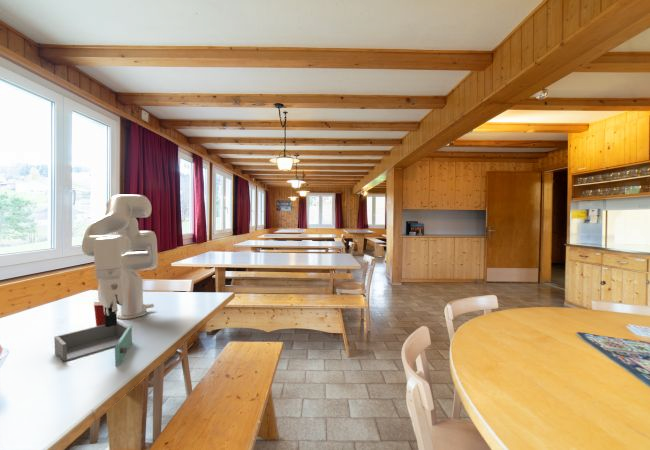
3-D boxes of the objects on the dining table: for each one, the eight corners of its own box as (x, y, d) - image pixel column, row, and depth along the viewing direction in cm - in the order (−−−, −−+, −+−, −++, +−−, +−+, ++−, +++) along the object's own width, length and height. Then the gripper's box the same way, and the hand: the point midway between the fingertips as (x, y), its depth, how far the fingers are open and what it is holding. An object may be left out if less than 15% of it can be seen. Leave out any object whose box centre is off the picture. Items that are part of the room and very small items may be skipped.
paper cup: (120, 329, 133) (119, 297, 133) (102, 336, 126) (101, 302, 125) (107, 328, 136) (106, 296, 135) (89, 334, 128) (88, 301, 128)
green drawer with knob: (128, 342, 119) (128, 325, 119) (137, 341, 120) (136, 324, 120) (115, 366, 100) (114, 346, 100) (124, 364, 101) (124, 345, 101)
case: (118, 335, 127) (117, 321, 127) (129, 342, 119) (128, 327, 119) (55, 352, 111) (54, 336, 111) (63, 362, 104) (62, 344, 104)
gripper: (129, 274, 103) (131, 327, 105) (113, 268, 113) (115, 317, 114) (102, 278, 98) (105, 334, 99) (88, 272, 107) (91, 323, 108)
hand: (110, 325), depth 106 cm, fingers closed
